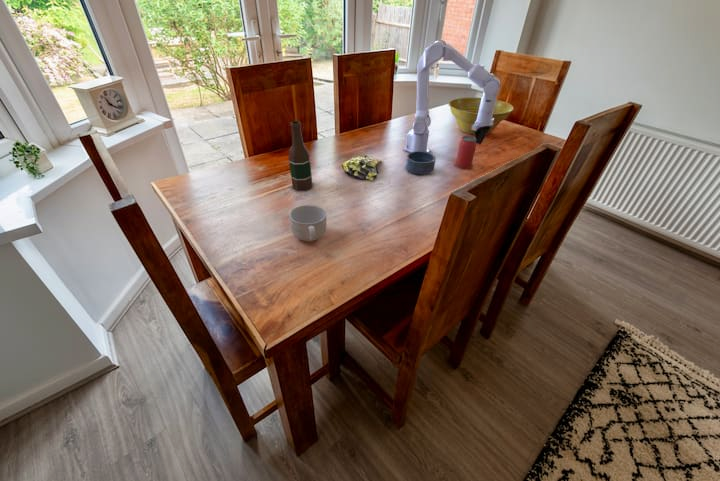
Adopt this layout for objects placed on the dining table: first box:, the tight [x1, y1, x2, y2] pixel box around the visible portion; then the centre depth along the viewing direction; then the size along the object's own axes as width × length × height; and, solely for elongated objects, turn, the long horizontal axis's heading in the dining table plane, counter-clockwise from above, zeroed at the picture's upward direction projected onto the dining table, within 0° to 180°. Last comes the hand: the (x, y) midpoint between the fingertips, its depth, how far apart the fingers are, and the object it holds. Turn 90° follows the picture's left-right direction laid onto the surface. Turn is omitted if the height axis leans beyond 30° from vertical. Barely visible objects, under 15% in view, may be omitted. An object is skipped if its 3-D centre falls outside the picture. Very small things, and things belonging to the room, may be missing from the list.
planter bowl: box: [447, 96, 515, 136], centre depth 168 cm, size 32×32×13 cm
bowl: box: [405, 151, 437, 175], centre depth 133 cm, size 12×12×6 cm
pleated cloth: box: [341, 153, 382, 182], centre depth 134 cm, size 20×16×7 cm
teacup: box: [288, 204, 328, 242], centre depth 94 cm, size 14×11×8 cm
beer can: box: [455, 135, 477, 170], centre depth 134 cm, size 7×7×12 cm
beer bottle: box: [288, 120, 313, 192], centre depth 115 cm, size 8×8×24 cm
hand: (478, 143), depth 138 cm, fingers closed
